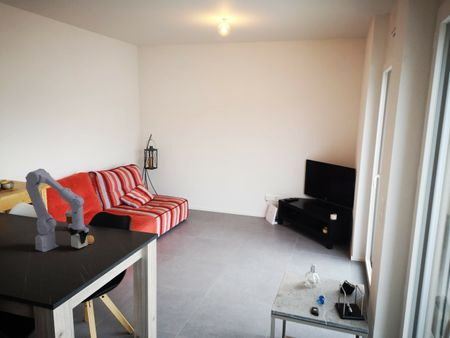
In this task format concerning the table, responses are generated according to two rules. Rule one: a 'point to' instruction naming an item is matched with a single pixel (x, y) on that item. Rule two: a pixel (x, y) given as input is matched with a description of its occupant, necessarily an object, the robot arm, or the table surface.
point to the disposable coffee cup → (69, 217)
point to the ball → (90, 239)
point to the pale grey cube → (77, 241)
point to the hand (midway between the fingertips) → (79, 242)
